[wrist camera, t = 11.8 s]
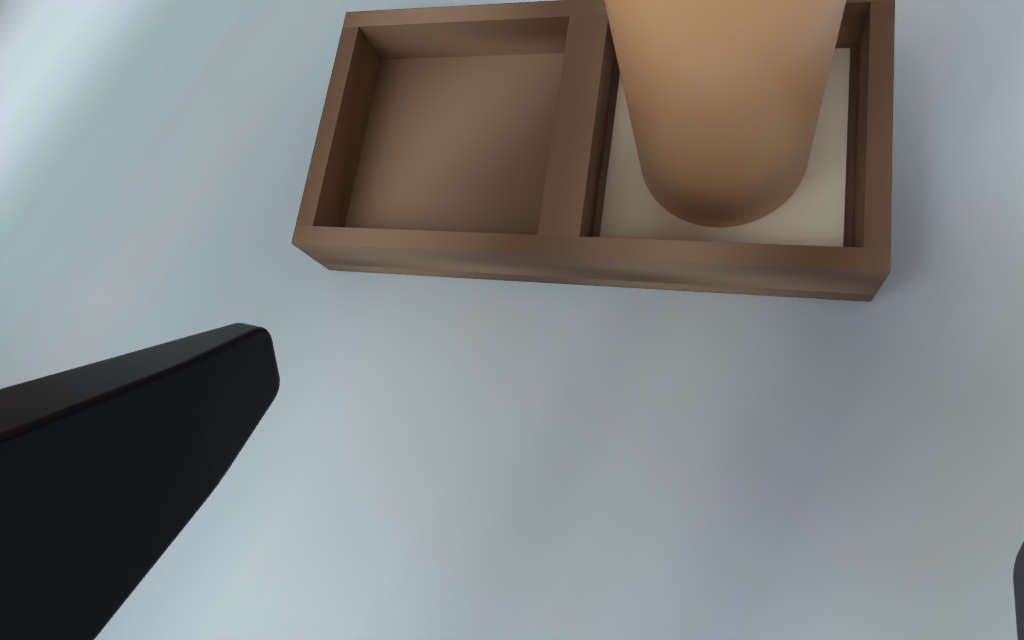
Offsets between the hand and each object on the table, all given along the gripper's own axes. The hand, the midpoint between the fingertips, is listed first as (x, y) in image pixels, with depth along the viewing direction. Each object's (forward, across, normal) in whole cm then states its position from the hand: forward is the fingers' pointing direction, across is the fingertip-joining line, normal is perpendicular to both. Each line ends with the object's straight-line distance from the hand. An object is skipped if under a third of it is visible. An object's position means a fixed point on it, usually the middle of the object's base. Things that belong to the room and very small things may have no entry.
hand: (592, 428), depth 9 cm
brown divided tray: (+12, +3, +1) cm, 12 cm away
